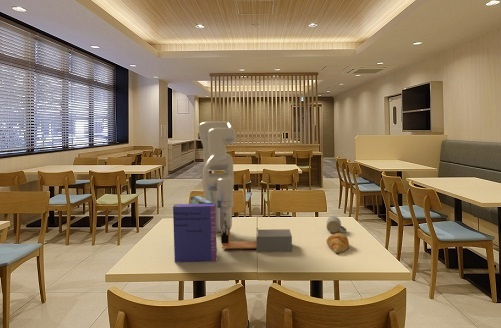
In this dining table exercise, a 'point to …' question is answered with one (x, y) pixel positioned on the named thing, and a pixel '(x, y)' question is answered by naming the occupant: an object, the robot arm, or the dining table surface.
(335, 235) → the croissant
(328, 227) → the ceramic mug
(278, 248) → the grey boxy piece
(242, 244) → the orange stepped block
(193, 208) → the cereal box
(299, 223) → the dining table surface
